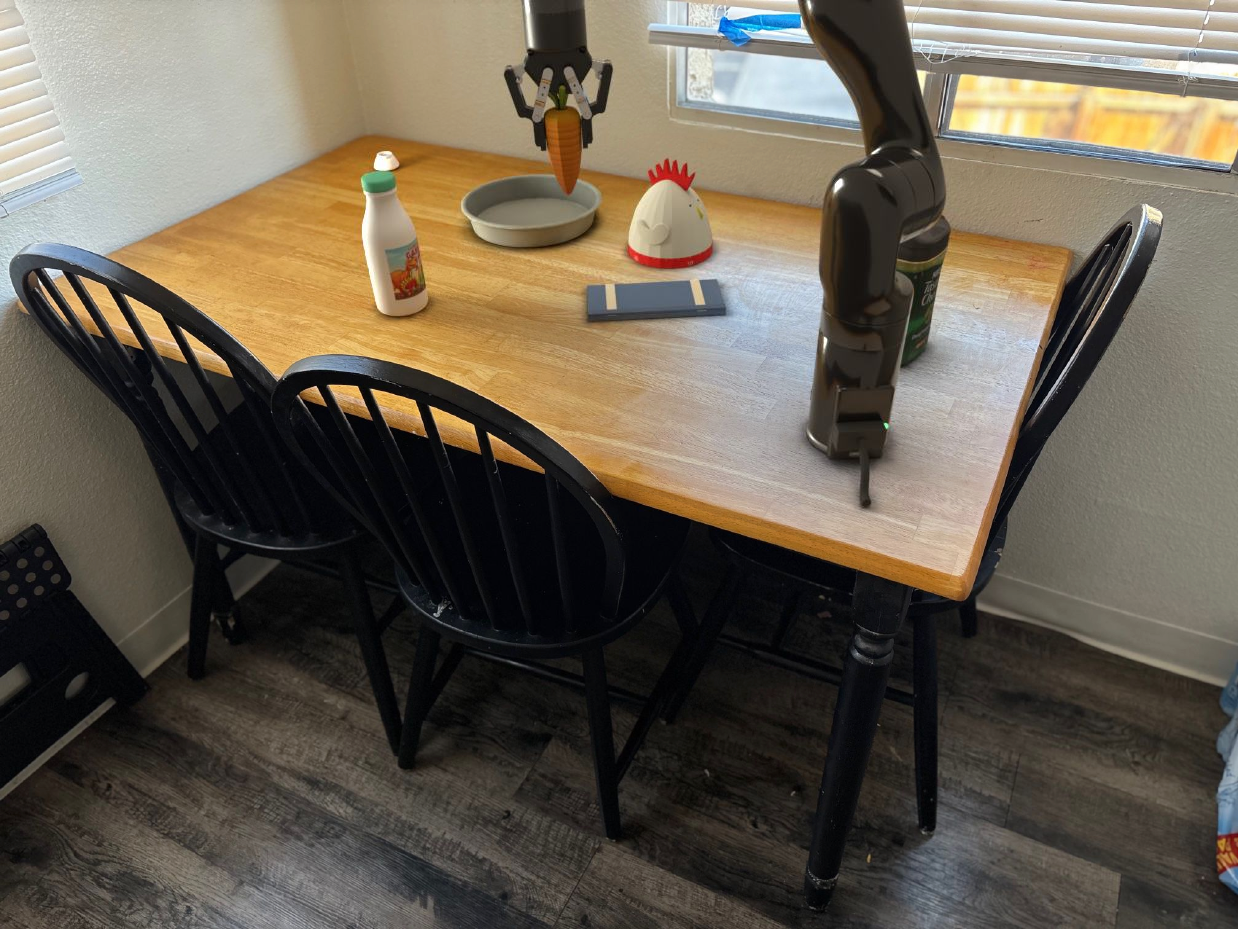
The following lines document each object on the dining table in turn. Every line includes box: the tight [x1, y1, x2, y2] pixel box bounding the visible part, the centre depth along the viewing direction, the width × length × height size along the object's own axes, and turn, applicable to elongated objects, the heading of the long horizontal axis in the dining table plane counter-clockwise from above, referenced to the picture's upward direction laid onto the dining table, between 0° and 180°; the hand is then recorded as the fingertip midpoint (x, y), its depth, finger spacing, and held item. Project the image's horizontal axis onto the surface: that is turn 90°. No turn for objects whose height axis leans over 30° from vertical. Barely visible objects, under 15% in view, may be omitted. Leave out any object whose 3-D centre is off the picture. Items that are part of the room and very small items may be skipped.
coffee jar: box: [896, 214, 952, 365], centre depth 116 cm, size 10×8×19 cm
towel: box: [586, 278, 727, 322], centre depth 134 cm, size 10×20×1 cm, turn 93°
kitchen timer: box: [628, 157, 714, 269], centre depth 145 cm, size 14×14×15 cm
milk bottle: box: [360, 170, 429, 317], centre depth 130 cm, size 8×8×20 cm
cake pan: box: [460, 173, 603, 248], centre depth 158 cm, size 25×25×4 cm
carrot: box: [542, 85, 583, 195], centre depth 117 cm, size 5×5×15 cm
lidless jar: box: [373, 150, 400, 172], centre depth 184 cm, size 5×3×5 cm
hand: (564, 147), depth 118 cm, fingers closed on carrot, 5 cm apart
